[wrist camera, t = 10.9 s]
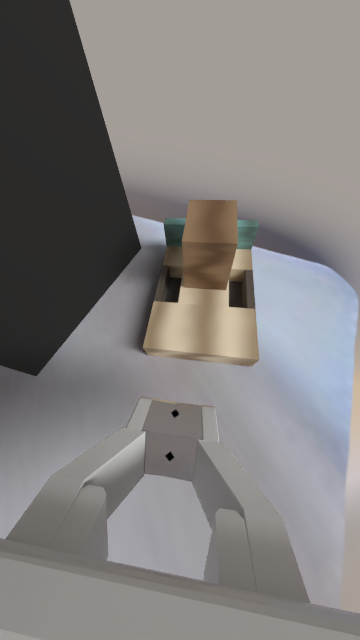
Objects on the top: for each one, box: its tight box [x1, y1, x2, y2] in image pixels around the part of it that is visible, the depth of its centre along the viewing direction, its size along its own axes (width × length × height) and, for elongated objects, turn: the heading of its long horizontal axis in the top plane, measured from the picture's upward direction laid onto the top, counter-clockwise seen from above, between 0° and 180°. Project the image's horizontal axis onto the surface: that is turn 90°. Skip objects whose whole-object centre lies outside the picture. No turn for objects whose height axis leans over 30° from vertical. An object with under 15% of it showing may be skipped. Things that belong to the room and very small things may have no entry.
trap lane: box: [143, 218, 259, 366], centre depth 27 cm, size 14×20×7 cm
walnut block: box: [182, 200, 238, 290], centre depth 26 cm, size 6×8×8 cm
